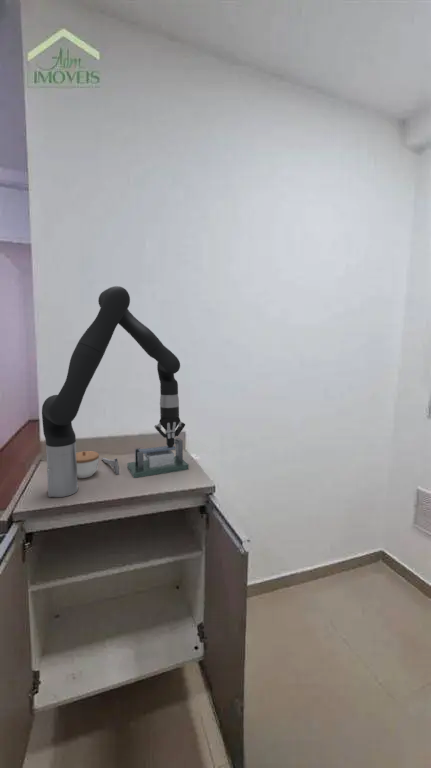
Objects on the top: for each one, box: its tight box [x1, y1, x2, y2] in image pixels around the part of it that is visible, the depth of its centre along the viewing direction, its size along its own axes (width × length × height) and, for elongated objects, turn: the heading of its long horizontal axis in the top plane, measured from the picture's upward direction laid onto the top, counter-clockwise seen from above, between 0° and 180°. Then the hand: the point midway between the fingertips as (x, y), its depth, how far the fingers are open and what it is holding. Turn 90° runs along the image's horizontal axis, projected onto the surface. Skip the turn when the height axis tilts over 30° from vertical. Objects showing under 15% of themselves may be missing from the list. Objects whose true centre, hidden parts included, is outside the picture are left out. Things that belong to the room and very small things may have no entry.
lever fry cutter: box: [127, 437, 189, 479], centre depth 141 cm, size 22×12×11 cm, turn 115°
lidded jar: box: [76, 450, 100, 479], centre depth 134 cm, size 11×11×9 cm
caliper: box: [101, 457, 120, 475], centre depth 143 cm, size 20×1×6 cm, turn 34°
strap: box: [138, 445, 176, 455], centre depth 141 cm, size 14×3×1 cm, turn 115°
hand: (170, 446), depth 143 cm, fingers closed
